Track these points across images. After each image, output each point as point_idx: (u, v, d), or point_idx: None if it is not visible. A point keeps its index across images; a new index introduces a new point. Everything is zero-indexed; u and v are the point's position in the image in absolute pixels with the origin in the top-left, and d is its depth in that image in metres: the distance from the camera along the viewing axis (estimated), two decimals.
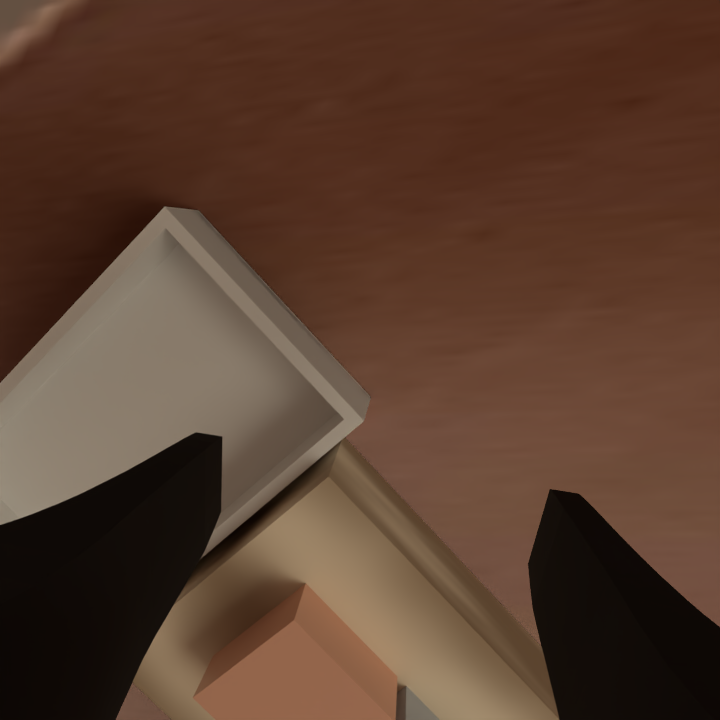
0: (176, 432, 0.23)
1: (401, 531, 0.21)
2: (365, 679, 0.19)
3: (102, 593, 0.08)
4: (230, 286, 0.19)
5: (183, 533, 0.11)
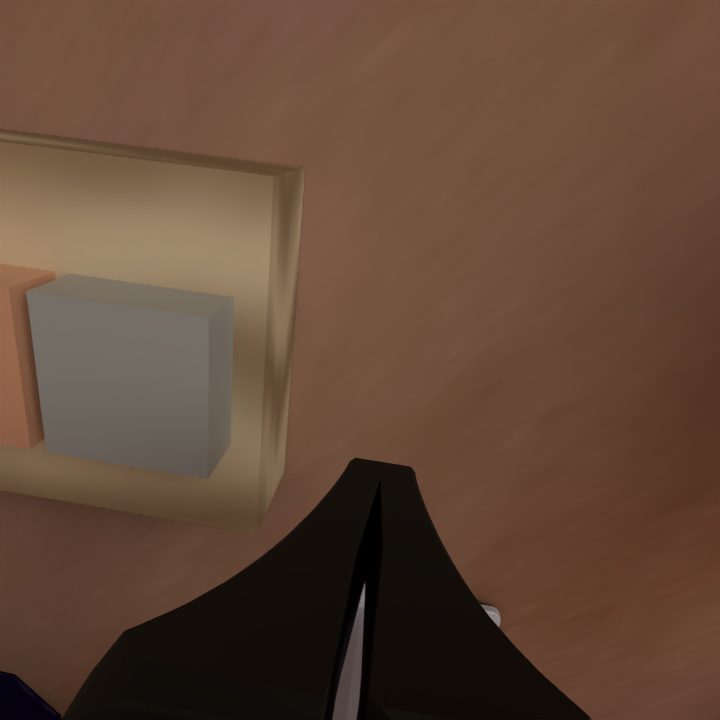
0: None
1: None
2: None
3: (342, 637, 0.08)
4: None
5: (363, 564, 0.11)
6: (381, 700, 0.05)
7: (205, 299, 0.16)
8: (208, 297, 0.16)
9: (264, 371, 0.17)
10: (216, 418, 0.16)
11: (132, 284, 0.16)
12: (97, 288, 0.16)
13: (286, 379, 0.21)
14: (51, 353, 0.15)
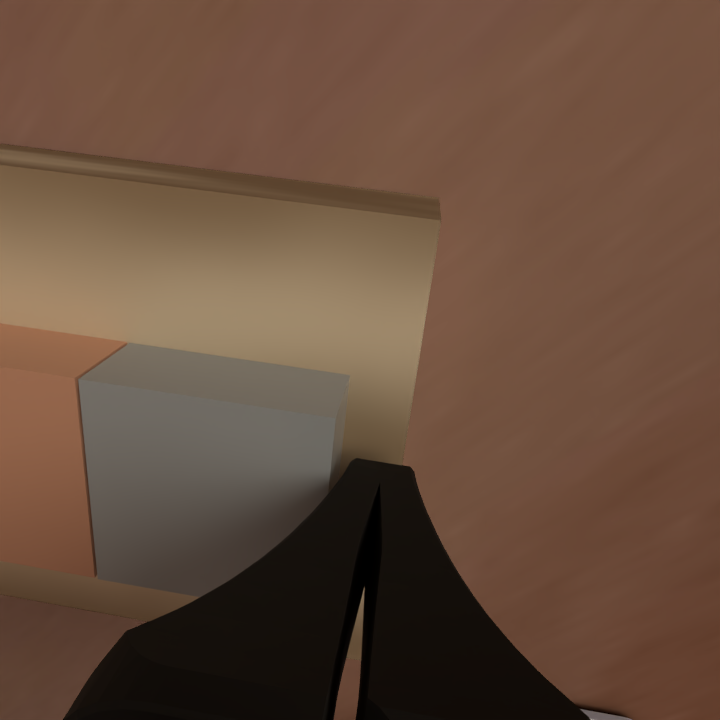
0: None
1: None
2: (14, 356, 0.11)
3: (343, 637, 0.08)
4: None
5: (364, 564, 0.11)
6: (380, 699, 0.05)
7: (316, 381, 0.12)
8: (318, 377, 0.12)
9: None
10: None
11: (213, 358, 0.12)
12: (170, 368, 0.12)
13: None
14: (110, 459, 0.11)
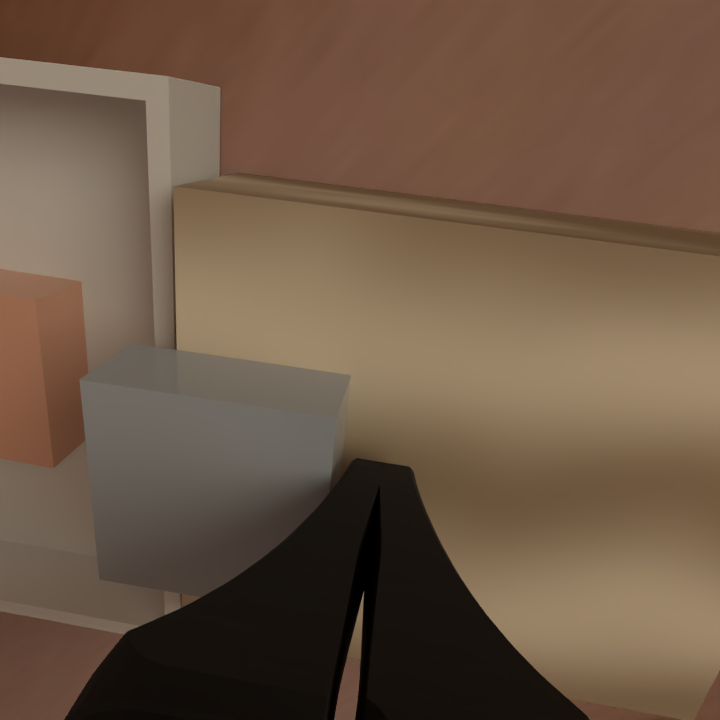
0: None
1: (366, 201, 0.12)
2: None
3: (344, 637, 0.08)
4: None
5: (364, 565, 0.11)
6: (379, 699, 0.05)
7: (317, 381, 0.12)
8: (319, 377, 0.12)
9: None
10: None
11: (214, 358, 0.12)
12: (171, 368, 0.12)
13: None
14: (111, 459, 0.11)
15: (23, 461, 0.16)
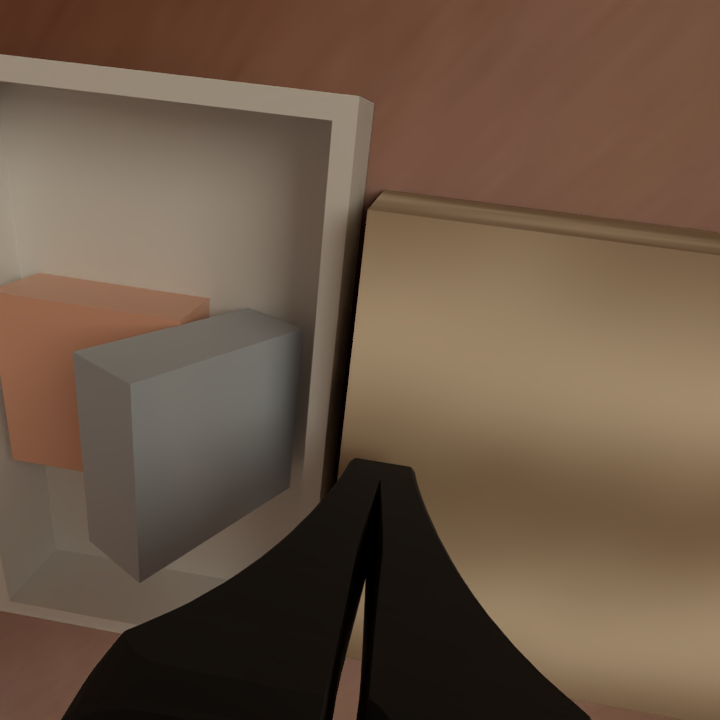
0: None
1: (548, 223, 0.12)
2: (82, 284, 0.15)
3: (342, 637, 0.08)
4: (43, 70, 0.12)
5: (363, 564, 0.11)
6: (381, 700, 0.05)
7: (141, 365, 0.11)
8: (146, 368, 0.11)
9: None
10: (100, 495, 0.13)
11: (241, 345, 0.13)
12: (237, 329, 0.14)
13: None
14: None
15: None
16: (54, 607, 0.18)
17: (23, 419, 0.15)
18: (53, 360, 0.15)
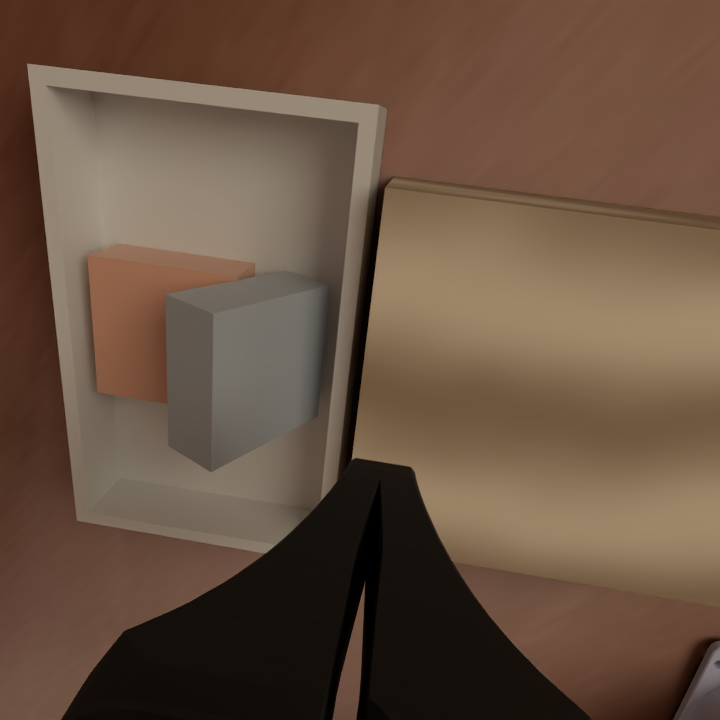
0: None
1: (518, 199, 0.16)
2: (155, 252, 0.19)
3: (342, 637, 0.08)
4: (144, 85, 0.16)
5: (363, 564, 0.11)
6: (381, 700, 0.05)
7: (217, 303, 0.16)
8: (222, 305, 0.15)
9: None
10: (181, 405, 0.17)
11: (286, 293, 0.17)
12: (281, 283, 0.18)
13: None
14: None
15: None
16: (125, 517, 0.22)
17: (108, 358, 0.19)
18: (135, 309, 0.19)
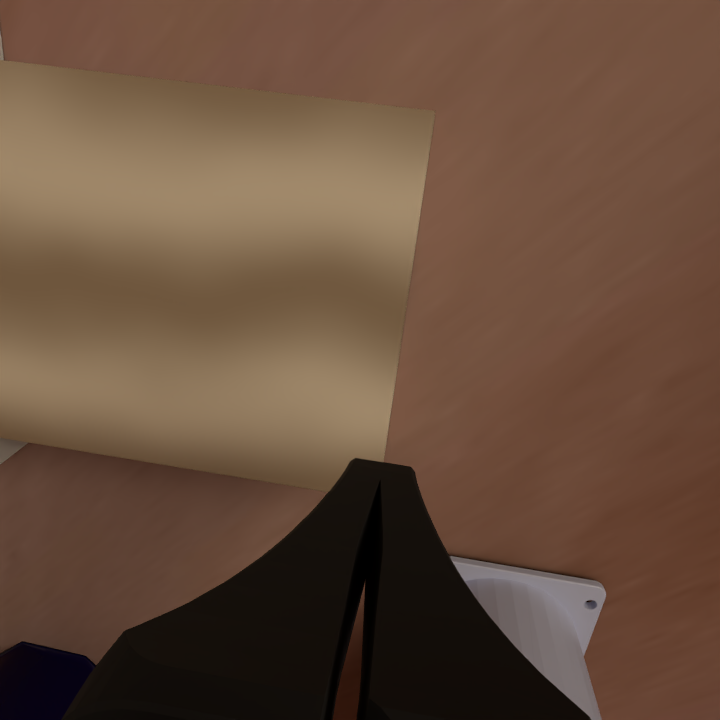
0: None
1: None
2: None
3: (342, 637, 0.08)
4: None
5: (363, 564, 0.11)
6: (381, 700, 0.05)
7: None
8: None
9: (403, 324, 0.16)
10: None
11: None
12: None
13: None
14: None
15: None
16: None
17: None
18: None
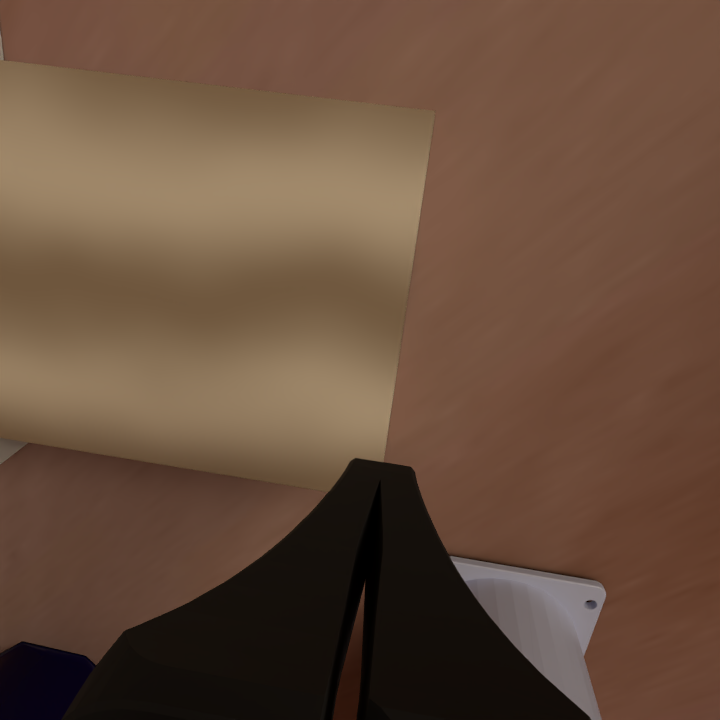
0: None
1: None
2: None
3: (342, 637, 0.08)
4: None
5: (363, 564, 0.11)
6: (381, 700, 0.05)
7: None
8: None
9: (403, 324, 0.16)
10: None
11: None
12: None
13: None
14: None
15: None
16: None
17: None
18: None
